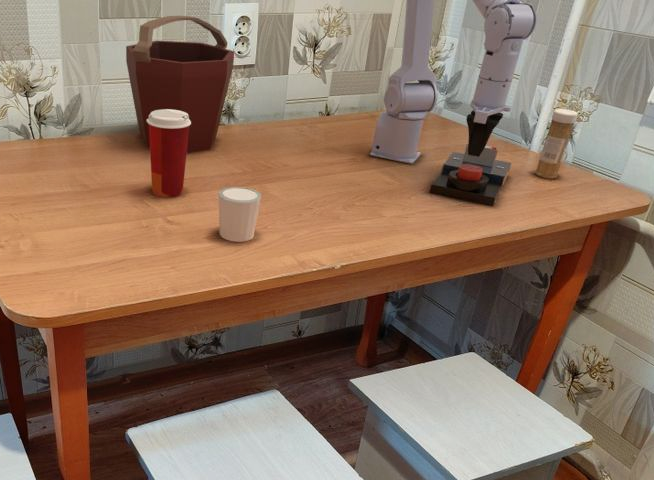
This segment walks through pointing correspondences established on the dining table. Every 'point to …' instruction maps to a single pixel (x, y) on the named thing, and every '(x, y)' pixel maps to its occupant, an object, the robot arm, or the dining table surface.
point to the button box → (466, 188)
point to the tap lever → (482, 156)
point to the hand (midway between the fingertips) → (475, 153)
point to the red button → (470, 172)
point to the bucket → (180, 80)
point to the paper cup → (168, 150)
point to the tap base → (494, 173)
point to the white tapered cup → (238, 213)
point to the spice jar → (556, 143)
